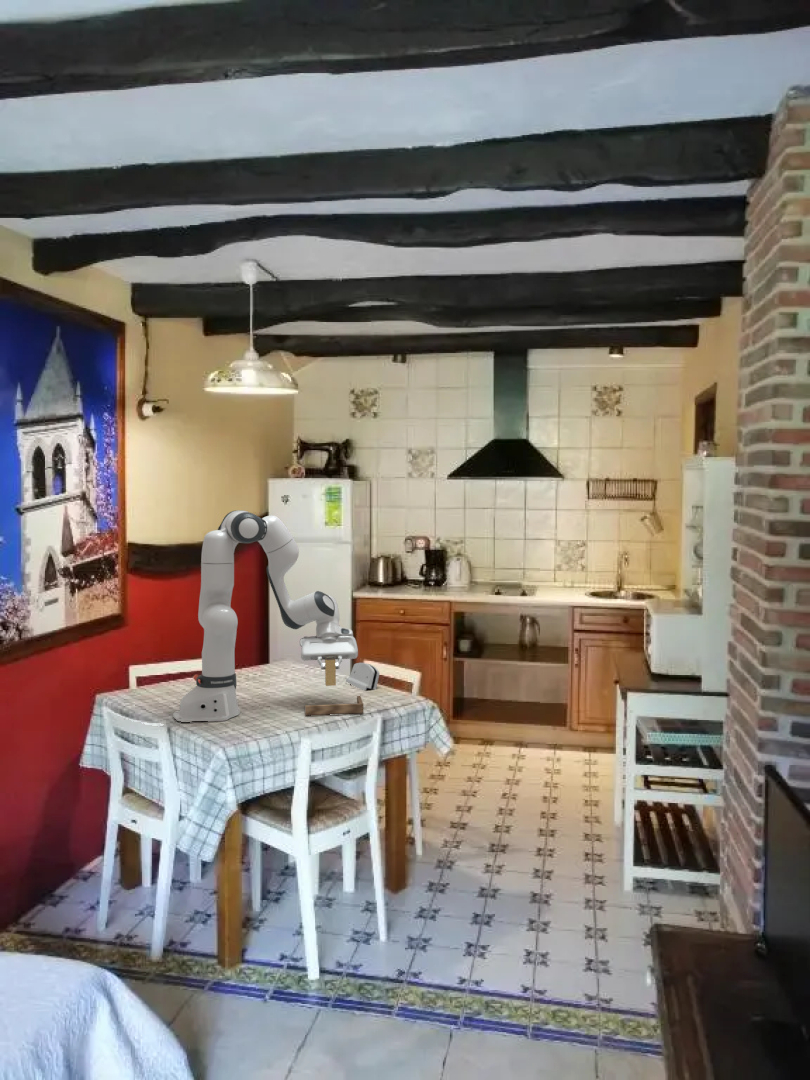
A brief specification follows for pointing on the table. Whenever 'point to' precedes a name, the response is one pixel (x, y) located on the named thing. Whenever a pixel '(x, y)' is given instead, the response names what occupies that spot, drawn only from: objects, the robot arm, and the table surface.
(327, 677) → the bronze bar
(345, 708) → the corner tray
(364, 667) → the hinge
